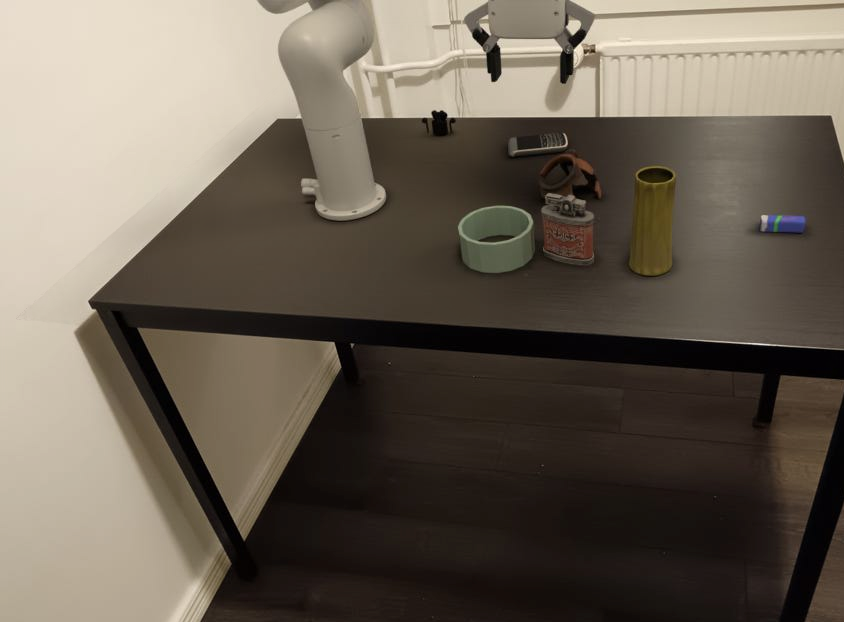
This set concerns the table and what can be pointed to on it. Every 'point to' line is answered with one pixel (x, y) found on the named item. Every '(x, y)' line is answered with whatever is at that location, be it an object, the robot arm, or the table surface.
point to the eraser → (782, 224)
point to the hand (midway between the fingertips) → (530, 79)
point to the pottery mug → (569, 175)
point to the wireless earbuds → (439, 123)
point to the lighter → (567, 230)
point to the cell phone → (537, 144)
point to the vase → (652, 221)
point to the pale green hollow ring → (497, 253)
